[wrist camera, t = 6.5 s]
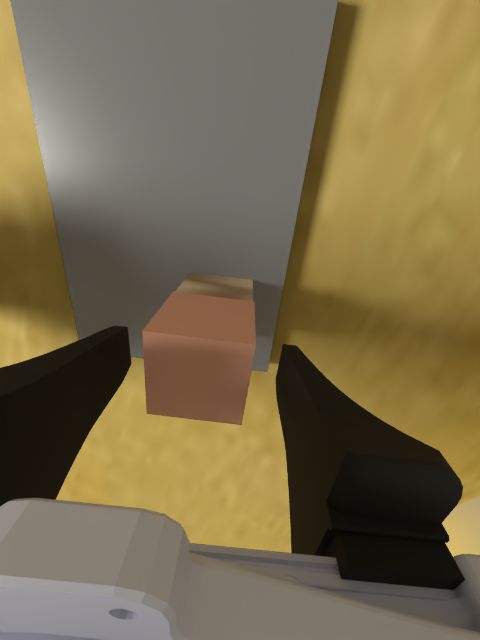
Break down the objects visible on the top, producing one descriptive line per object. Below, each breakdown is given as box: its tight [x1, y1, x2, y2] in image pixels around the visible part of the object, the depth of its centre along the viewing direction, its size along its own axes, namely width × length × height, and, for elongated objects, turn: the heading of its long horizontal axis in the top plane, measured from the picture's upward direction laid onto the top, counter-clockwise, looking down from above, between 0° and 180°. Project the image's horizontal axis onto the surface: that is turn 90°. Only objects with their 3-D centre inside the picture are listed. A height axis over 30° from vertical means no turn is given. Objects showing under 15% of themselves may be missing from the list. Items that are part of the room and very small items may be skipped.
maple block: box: [175, 273, 253, 302], centre depth 15 cm, size 4×4×4 cm
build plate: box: [10, 0, 338, 372], centre depth 15 cm, size 14×20×1 cm
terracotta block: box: [143, 291, 256, 425], centre depth 12 cm, size 4×4×4 cm
